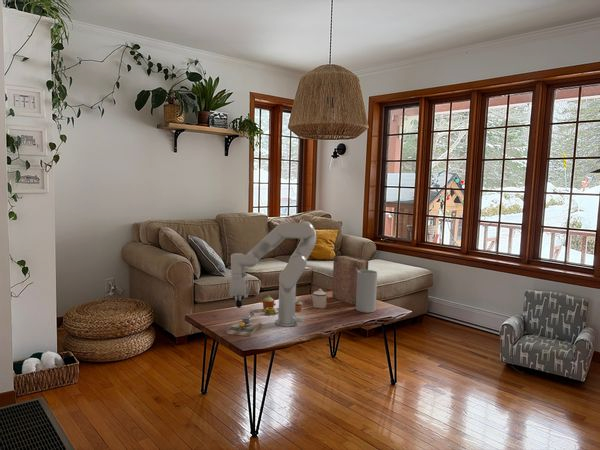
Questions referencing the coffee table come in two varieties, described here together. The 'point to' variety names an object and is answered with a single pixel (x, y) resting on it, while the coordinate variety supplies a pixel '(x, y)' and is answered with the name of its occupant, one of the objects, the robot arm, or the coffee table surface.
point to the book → (346, 277)
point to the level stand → (243, 329)
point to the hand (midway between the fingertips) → (239, 307)
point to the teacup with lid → (319, 299)
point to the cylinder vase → (366, 291)
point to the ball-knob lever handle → (246, 320)
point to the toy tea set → (269, 304)
